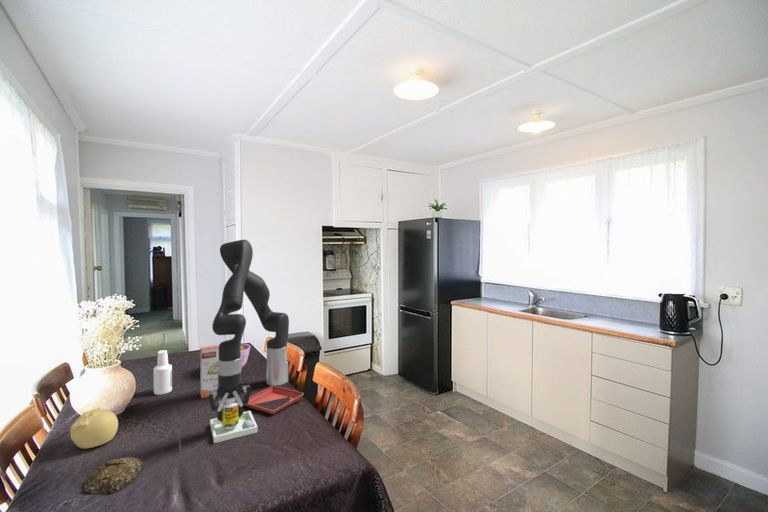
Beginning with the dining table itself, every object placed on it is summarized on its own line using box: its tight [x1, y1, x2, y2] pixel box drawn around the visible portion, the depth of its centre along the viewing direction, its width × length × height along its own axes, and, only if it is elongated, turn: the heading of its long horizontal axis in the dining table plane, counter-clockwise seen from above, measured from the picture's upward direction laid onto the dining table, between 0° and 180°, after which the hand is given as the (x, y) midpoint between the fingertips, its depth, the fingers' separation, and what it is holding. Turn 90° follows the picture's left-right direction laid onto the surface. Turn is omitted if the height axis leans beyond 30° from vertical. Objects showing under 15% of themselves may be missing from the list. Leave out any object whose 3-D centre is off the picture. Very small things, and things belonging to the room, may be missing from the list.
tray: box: [209, 410, 259, 444], centre depth 123 cm, size 14×14×2 cm
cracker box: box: [200, 344, 219, 399], centre depth 153 cm, size 14×6×21 cm, turn 122°
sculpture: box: [69, 407, 119, 450], centre depth 114 cm, size 12×12×11 cm
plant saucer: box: [243, 385, 304, 415], centre depth 144 cm, size 18×18×3 cm
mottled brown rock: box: [82, 456, 145, 495], centre depth 97 cm, size 13×12×5 cm
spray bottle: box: [153, 349, 173, 396], centre depth 154 cm, size 7×7×18 cm
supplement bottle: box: [221, 397, 239, 429], centre depth 123 cm, size 6×6×10 cm
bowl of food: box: [240, 342, 251, 368], centre depth 181 cm, size 20×20×12 cm
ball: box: [242, 420, 253, 429], centre depth 122 cm, size 4×4×4 cm
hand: (230, 418), depth 123 cm, fingers closed on supplement bottle, 5 cm apart
